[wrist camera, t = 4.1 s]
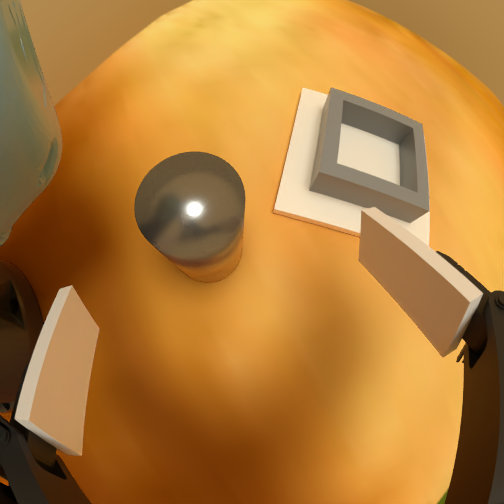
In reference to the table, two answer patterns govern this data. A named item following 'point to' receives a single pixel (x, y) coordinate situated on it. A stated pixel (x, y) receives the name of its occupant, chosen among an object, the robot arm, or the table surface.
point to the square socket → (354, 165)
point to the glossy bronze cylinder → (194, 214)
